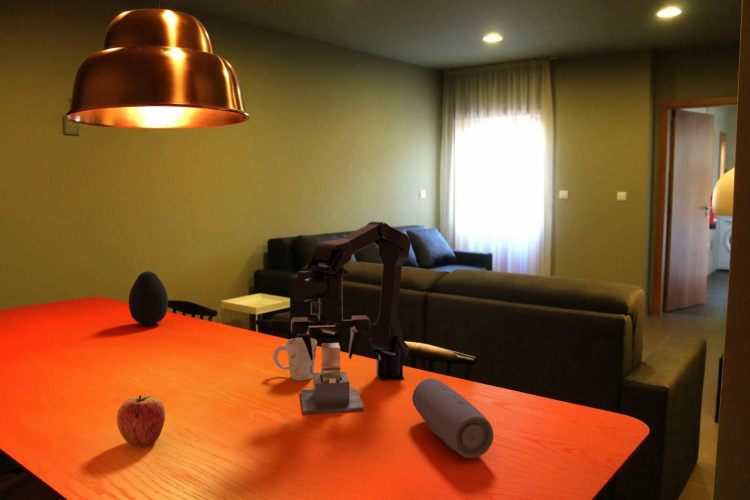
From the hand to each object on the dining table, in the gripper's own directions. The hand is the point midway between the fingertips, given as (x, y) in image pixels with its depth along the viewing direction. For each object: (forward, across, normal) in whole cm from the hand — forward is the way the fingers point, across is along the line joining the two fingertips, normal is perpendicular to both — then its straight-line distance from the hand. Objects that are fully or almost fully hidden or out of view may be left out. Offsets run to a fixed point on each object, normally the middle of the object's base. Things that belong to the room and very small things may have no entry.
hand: (330, 359), depth 141 cm
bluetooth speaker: (+11, -22, +25) cm, 35 cm away
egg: (+11, +59, -88) cm, 106 cm away
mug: (+11, +8, -20) cm, 24 cm away
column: (+5, 0, 0) cm, 5 cm away
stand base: (+10, 0, 0) cm, 10 cm away
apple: (+11, +40, +17) cm, 45 cm away
